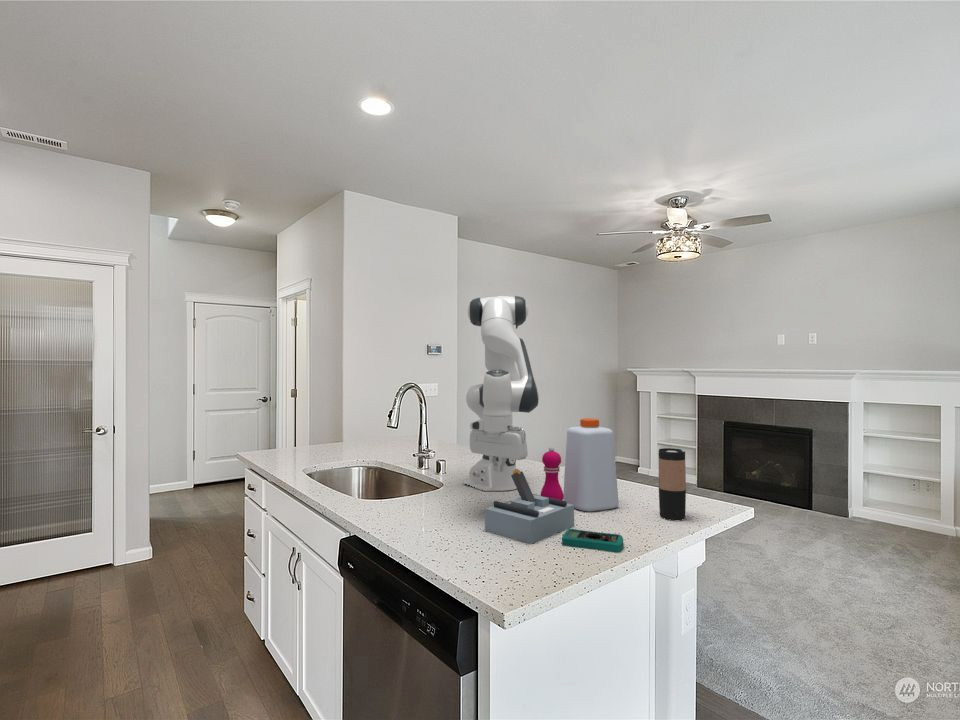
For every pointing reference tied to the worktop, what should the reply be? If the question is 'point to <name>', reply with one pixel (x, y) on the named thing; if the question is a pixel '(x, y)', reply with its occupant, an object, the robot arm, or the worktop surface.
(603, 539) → the digital multimeter
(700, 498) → the worktop surface
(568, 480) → the plastic bottle
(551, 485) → the pepper mill
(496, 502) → the dark parallel rails
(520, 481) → the breaker lever
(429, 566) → the worktop surface
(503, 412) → the robot arm
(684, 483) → the travel mug
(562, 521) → the box
